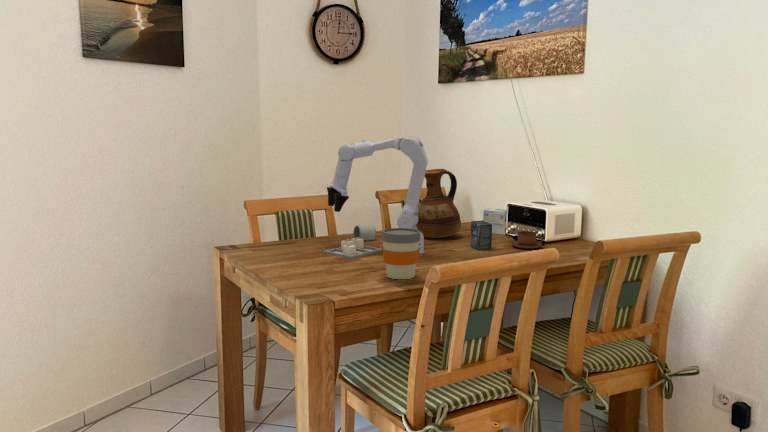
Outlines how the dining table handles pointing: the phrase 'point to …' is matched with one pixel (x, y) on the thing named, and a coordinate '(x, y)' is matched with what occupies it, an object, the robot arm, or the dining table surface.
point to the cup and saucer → (527, 240)
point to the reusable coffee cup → (400, 252)
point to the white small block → (358, 242)
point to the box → (481, 235)
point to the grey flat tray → (359, 252)
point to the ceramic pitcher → (438, 207)
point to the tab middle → (346, 243)
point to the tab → (349, 249)
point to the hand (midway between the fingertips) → (333, 208)
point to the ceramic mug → (365, 232)
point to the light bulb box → (496, 220)
